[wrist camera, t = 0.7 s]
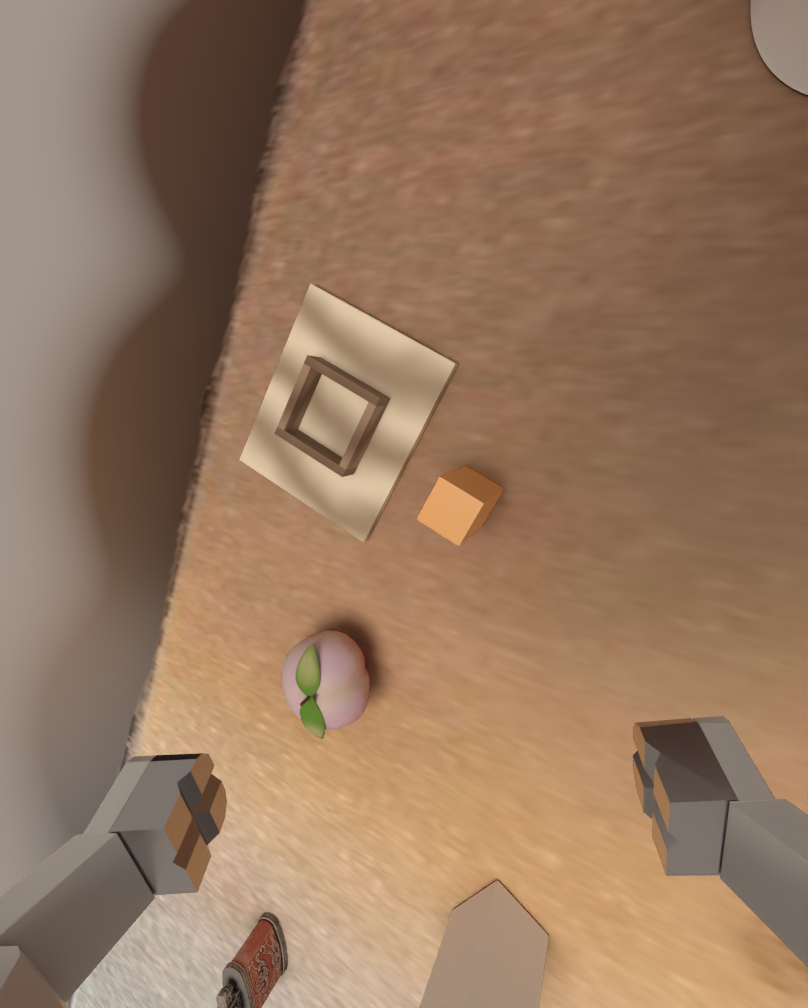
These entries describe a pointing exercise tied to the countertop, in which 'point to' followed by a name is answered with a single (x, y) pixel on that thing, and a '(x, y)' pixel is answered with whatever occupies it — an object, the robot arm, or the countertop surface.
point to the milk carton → (488, 955)
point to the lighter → (255, 966)
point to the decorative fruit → (326, 681)
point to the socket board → (345, 411)
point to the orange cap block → (459, 504)
